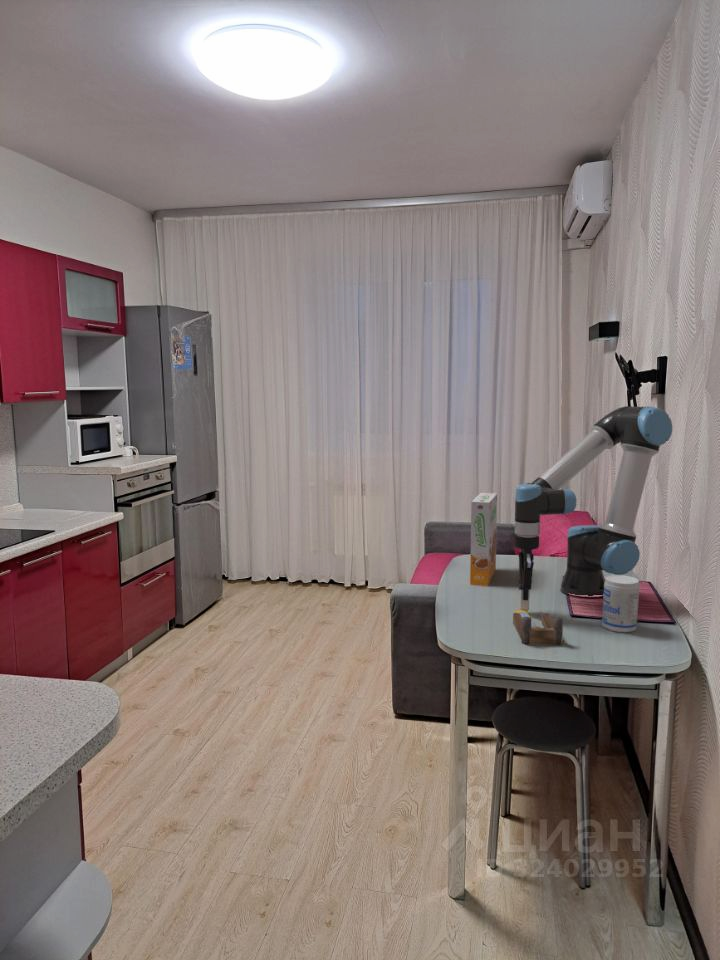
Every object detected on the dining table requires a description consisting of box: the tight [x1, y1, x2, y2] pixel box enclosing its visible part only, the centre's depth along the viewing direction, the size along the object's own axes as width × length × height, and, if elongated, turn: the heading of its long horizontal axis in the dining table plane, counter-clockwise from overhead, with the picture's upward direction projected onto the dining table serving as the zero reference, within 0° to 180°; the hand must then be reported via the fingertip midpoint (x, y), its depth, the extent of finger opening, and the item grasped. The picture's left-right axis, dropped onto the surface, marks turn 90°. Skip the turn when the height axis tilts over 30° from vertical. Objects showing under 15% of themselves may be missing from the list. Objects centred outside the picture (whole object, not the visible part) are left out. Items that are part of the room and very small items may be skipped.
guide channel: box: [512, 612, 564, 646], centre depth 198 cm, size 11×18×7 cm, turn 177°
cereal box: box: [469, 492, 498, 587], centre depth 256 cm, size 22×6×30 cm, turn 162°
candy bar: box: [513, 609, 540, 628], centre depth 208 cm, size 17×4×2 cm, turn 179°
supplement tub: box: [601, 574, 640, 633], centre depth 202 cm, size 10×10×15 cm
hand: (524, 609), depth 216 cm, fingers closed
